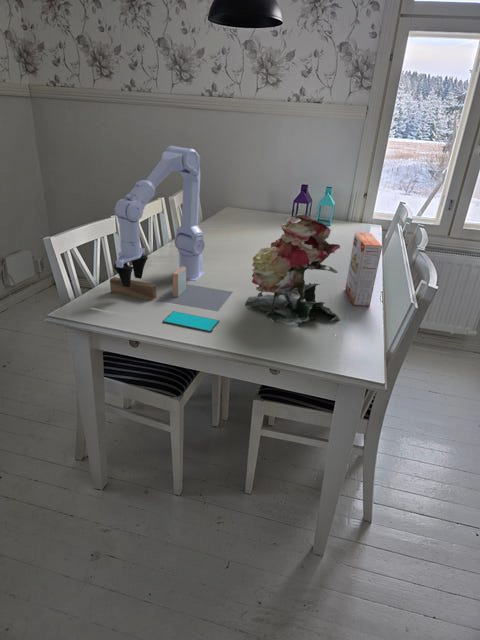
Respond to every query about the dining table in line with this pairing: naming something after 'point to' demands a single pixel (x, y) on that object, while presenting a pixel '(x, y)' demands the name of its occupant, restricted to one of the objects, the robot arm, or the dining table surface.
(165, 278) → the dining table surface
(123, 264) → the robot arm
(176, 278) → the tile
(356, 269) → the cracker box
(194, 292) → the mat
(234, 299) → the dining table surface
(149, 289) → the brown wooden plank
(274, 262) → the rose bouquet
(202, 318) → the smartphone
